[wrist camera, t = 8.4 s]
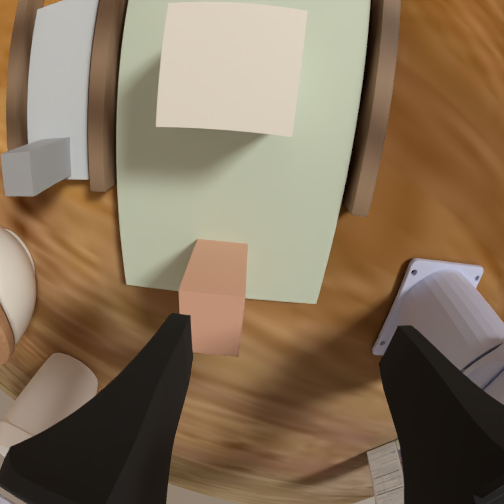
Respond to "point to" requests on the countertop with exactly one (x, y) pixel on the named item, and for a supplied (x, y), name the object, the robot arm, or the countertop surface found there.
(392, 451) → the syrup box
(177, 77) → the cream cube
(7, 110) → the lane rails
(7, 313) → the lidded jar
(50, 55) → the grey l-shaped bracket
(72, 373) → the foam cup
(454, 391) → the robot arm
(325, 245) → the green flat panel
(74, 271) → the countertop surface
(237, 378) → the countertop surface
